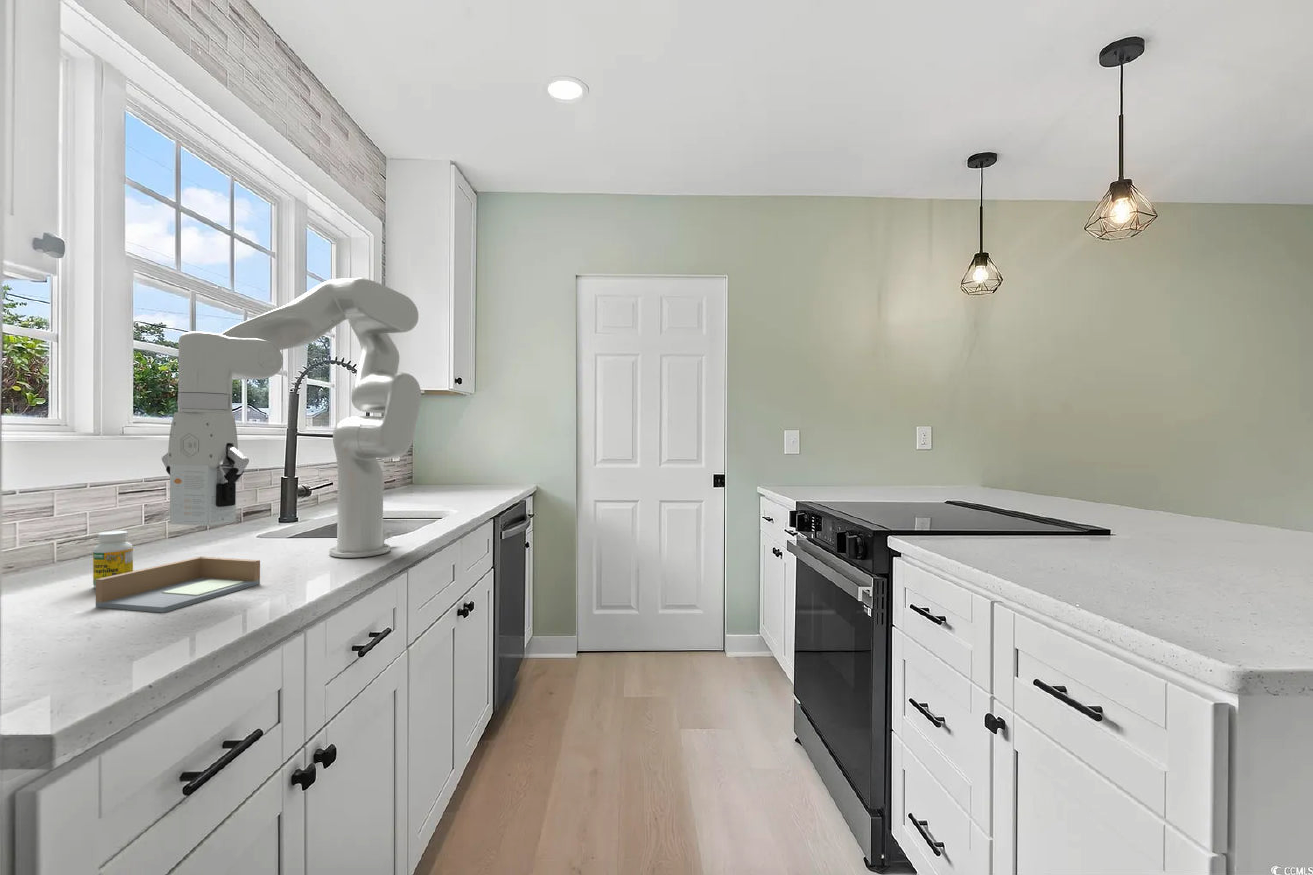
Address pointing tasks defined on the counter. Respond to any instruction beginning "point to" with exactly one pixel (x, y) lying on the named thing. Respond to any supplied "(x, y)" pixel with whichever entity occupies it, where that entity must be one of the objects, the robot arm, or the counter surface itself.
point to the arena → (173, 583)
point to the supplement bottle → (112, 555)
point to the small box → (197, 496)
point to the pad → (203, 587)
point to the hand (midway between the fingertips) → (204, 504)
